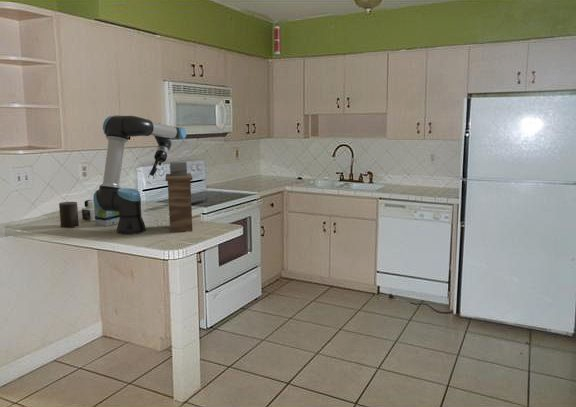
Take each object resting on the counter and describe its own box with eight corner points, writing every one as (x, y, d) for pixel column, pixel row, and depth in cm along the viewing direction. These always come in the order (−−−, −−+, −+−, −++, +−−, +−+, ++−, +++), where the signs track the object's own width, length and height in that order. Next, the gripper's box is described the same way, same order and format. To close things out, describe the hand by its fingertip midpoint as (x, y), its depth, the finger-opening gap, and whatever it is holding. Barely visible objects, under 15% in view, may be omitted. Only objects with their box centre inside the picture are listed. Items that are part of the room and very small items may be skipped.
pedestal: (194, 231, 273) (192, 177, 267) (168, 233, 270) (165, 178, 264) (192, 223, 291) (190, 173, 285) (168, 225, 288) (165, 174, 282)
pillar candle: (67, 228, 280) (65, 202, 278) (57, 226, 286) (55, 201, 283) (82, 225, 288) (80, 200, 286) (72, 223, 294) (70, 198, 291)
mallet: (187, 175, 276) (186, 162, 274) (170, 175, 274) (169, 163, 272) (185, 170, 300) (185, 158, 298) (170, 170, 298) (169, 159, 296)
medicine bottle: (82, 220, 302) (80, 200, 300) (91, 217, 308) (90, 199, 306) (90, 221, 299) (88, 201, 297) (99, 219, 305) (98, 199, 303)
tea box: (107, 226, 285) (105, 201, 282) (94, 224, 290) (92, 200, 287) (126, 221, 298) (125, 197, 295) (114, 219, 303) (113, 196, 300)
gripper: (175, 144, 310) (167, 166, 295) (158, 169, 325) (150, 191, 309) (164, 138, 308) (156, 160, 292) (148, 164, 322) (139, 185, 307)
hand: (153, 176), depth 301 cm, fingers open, 13 cm apart
